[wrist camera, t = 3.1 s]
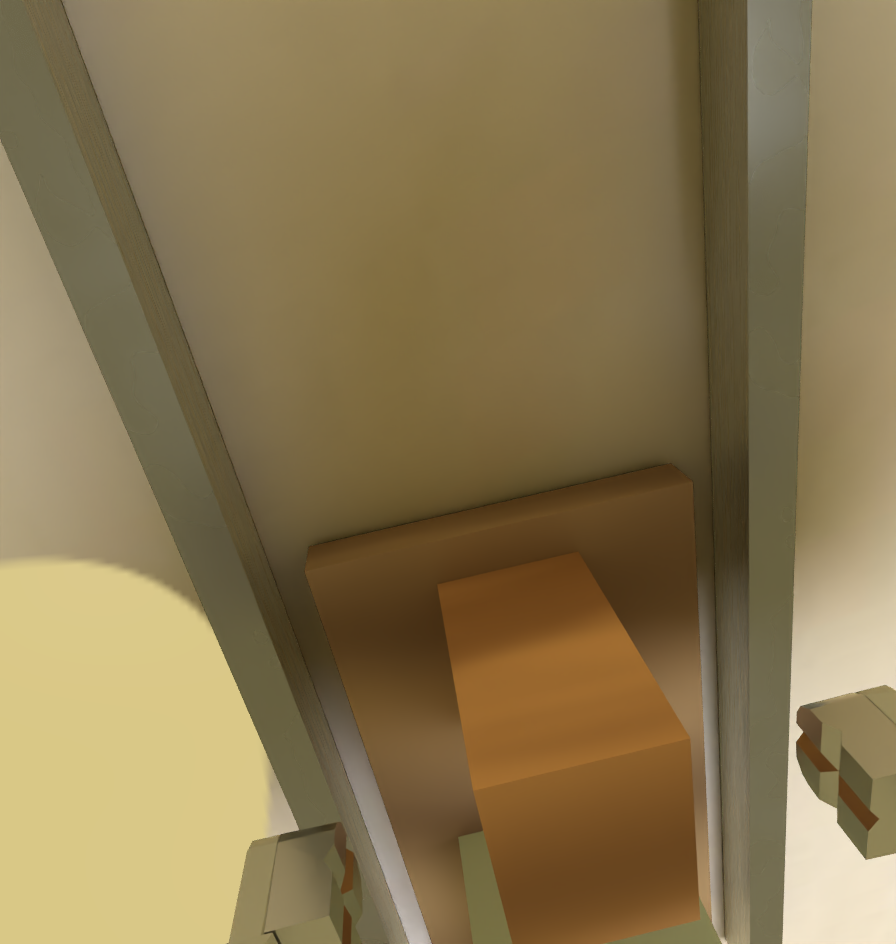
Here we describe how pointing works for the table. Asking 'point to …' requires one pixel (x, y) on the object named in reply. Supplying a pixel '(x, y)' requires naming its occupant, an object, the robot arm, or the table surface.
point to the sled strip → (418, 662)
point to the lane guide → (225, 510)
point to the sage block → (489, 922)
